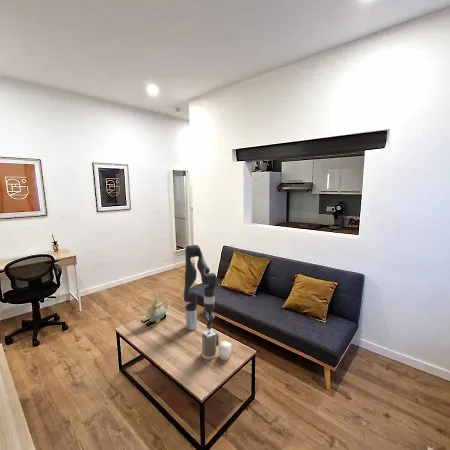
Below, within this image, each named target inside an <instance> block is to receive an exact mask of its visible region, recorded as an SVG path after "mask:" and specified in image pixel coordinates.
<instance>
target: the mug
mask: <svg viewBox="0 0 450 450" xmlns="http://www.w3.org/2000/svg"><path fill="white" fill-rule="evenodd" d="M232 352H233V344H232V343H230V342H229V341H226V340H225V341H223V340H222V341H221V342H219V345H218V358H219V359H220V360H222V361H228V360H230V358H231V353H232Z"/></svg>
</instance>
